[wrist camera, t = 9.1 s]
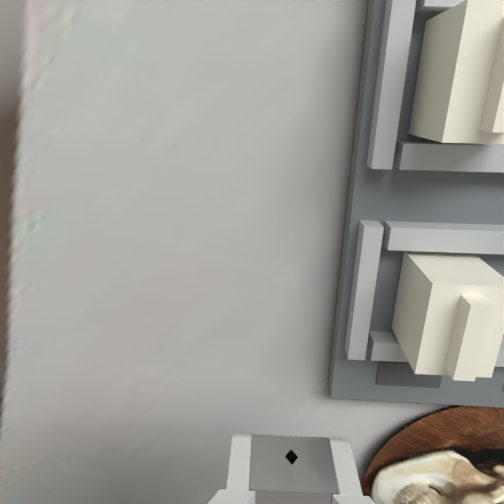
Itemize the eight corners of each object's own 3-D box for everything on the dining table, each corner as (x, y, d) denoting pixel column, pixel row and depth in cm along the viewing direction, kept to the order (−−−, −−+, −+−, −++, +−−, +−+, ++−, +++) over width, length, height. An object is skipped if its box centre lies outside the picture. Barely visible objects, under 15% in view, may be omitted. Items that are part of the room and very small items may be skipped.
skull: (334, 553, 26) (400, 640, 16) (352, 387, 30) (414, 378, 20) (518, 594, 26) (693, 707, 16) (512, 422, 29) (652, 431, 20)
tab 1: (509, 22, 15) (597, -7, 11) (484, 135, 16) (554, 147, 12) (425, 21, 15) (481, -9, 11) (408, 133, 16) (452, 145, 12)
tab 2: (472, 252, 18) (529, 297, 14) (454, 330, 19) (502, 391, 15) (404, 250, 18) (440, 293, 14) (391, 327, 19) (421, 387, 15)
